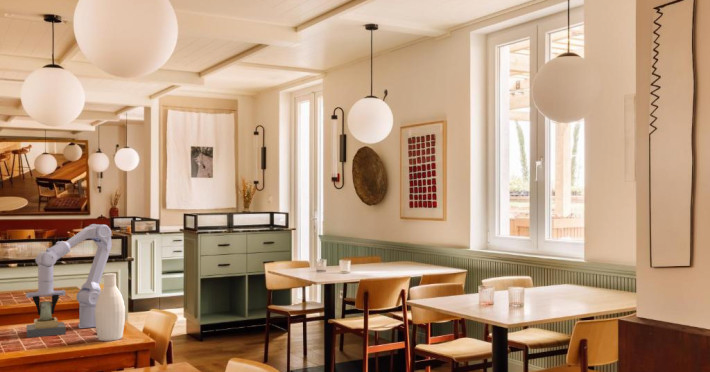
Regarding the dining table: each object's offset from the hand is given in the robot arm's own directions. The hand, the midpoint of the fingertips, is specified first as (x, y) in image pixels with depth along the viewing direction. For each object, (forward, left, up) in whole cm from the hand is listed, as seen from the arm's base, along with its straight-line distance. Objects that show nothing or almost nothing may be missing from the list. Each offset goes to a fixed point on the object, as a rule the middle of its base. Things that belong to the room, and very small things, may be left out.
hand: (45, 314), depth 279 cm
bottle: (-22, +24, -8) cm, 34 cm away
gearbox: (0, 0, -8) cm, 8 cm away
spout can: (0, 0, -2) cm, 2 cm away
